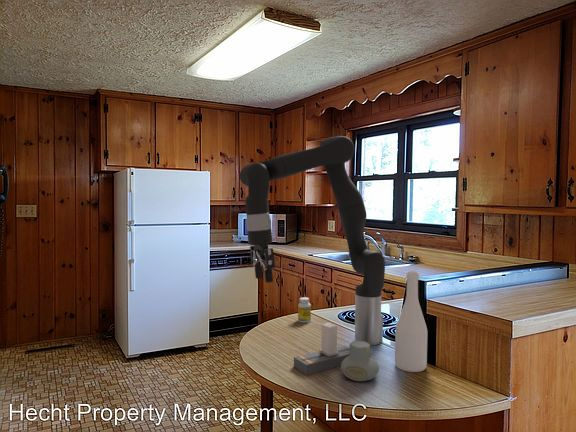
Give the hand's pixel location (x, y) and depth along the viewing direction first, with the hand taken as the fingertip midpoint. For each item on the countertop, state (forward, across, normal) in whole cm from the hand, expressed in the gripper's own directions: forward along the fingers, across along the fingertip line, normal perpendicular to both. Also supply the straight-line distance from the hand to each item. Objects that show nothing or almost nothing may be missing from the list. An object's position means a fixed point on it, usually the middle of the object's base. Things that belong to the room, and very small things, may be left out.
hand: (264, 280), depth 135 cm
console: (+28, -6, -16) cm, 33 cm away
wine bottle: (+31, -19, -38) cm, 53 cm away
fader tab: (+25, -6, -17) cm, 31 cm away
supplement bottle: (+28, +36, -30) cm, 55 cm away
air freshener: (+30, -19, -20) cm, 40 cm away
